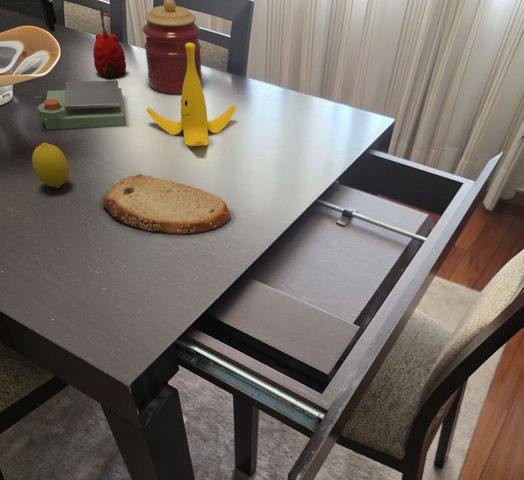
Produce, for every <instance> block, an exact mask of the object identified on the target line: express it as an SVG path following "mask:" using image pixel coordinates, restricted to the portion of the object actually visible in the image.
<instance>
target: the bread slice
mask: <svg viewBox="0 0 524 480" xmlns="http://www.w3.org/2000/svg"><path fill="white" fill-rule="evenodd" d="M102 206H103V208H104V209H106V210H107V211H108V212H109V214H111V216H112V217H114V218H115V219H117V220H118V221H119V222H121V223H123V224H125V225H129V226H132V227H134V228H138V229H141V230H146V231H148V232H164V233H167V234H176V235H177V234H178V235H182V234H195V233H196V234H199V233H202V232H207V231H210V230H214V229H217V228H219V227H221V226H223V225H225V224H226V223H227V222H228V221H231V217H232V216H231V211H230V210H229V208H228V206H227V203H226V202H225V201H224V199H222V197H220V196H217V195H215V194H212V193H211V192H209V191H205V190H203V189H202V190H201V189H200V188H198V187H193V186H191V185H187V184H185V183H181V182H176V181H173V180H167V179H165V178H159V177H155V176H151V175H144V174H142V173H139V174H136V175H130V176H127V177H126V178H122V179H121V180H120V181H119V182H117V183H115V184H114V185H113V186H112V187H111V188H110V189H109V190H108V192H107V193H106V194H105V196H104V199H103V202H102Z"/></svg>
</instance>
